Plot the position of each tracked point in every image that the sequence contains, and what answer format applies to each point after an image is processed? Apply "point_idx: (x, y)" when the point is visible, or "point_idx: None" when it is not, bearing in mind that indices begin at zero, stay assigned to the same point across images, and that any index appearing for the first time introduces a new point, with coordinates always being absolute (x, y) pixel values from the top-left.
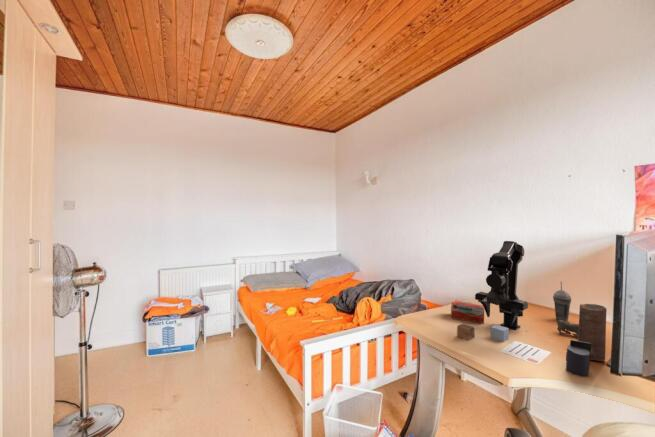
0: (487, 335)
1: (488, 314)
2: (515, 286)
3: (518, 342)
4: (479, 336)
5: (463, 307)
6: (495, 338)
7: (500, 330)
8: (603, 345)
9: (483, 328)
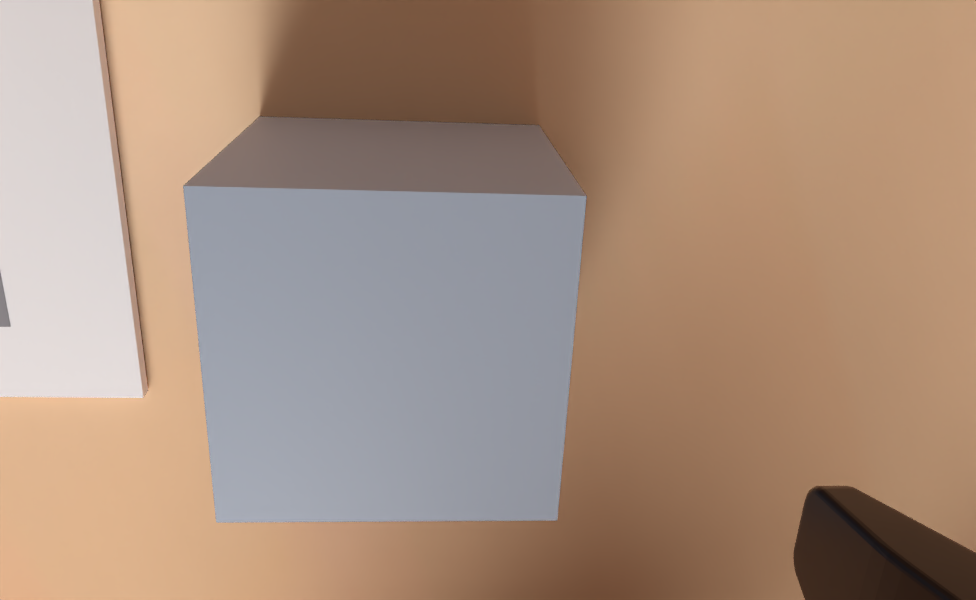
0: (643, 230)
1: (868, 569)
2: None
3: (69, 357)
4: (756, 6)
5: None
6: (437, 129)
7: (290, 185)
8: None
9: None
